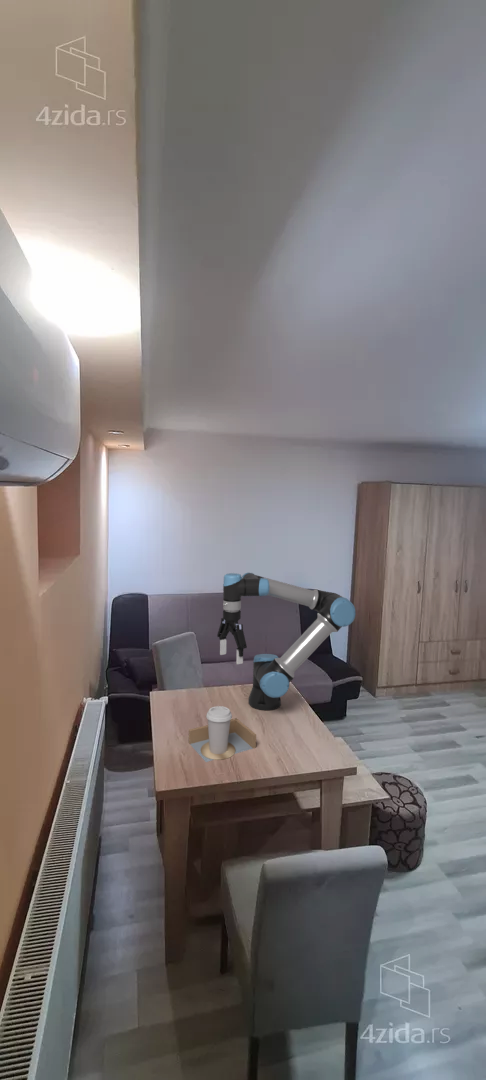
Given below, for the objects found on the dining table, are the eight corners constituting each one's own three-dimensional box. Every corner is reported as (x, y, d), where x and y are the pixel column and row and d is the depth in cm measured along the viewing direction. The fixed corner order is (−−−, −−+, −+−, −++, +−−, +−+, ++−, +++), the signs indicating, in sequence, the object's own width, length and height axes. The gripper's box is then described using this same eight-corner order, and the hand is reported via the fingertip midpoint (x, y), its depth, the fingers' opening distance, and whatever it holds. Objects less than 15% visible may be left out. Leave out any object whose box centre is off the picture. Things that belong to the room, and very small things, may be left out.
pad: (225, 738, 181) (225, 737, 181) (241, 754, 170) (241, 753, 170) (194, 746, 175) (194, 745, 175) (210, 763, 164) (210, 762, 164)
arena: (235, 732, 188) (236, 718, 188) (255, 749, 175) (256, 734, 175) (188, 744, 177) (188, 729, 177) (205, 764, 165) (206, 748, 164)
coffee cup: (233, 744, 176) (234, 706, 175) (227, 758, 167) (228, 718, 166) (209, 741, 178) (210, 703, 177) (202, 754, 169) (203, 714, 168)
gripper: (210, 605, 204) (209, 652, 206) (240, 617, 184) (239, 669, 185) (224, 603, 209) (223, 649, 210) (255, 615, 188) (254, 666, 189)
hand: (231, 658), depth 198 cm, fingers open, 13 cm apart
